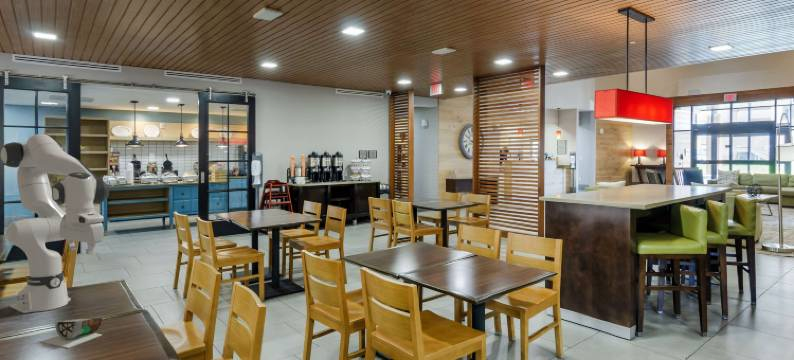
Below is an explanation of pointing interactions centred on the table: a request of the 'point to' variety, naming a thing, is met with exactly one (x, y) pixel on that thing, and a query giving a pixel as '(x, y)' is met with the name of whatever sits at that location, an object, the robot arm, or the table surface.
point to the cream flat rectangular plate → (71, 340)
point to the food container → (77, 327)
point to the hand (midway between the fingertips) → (81, 252)
